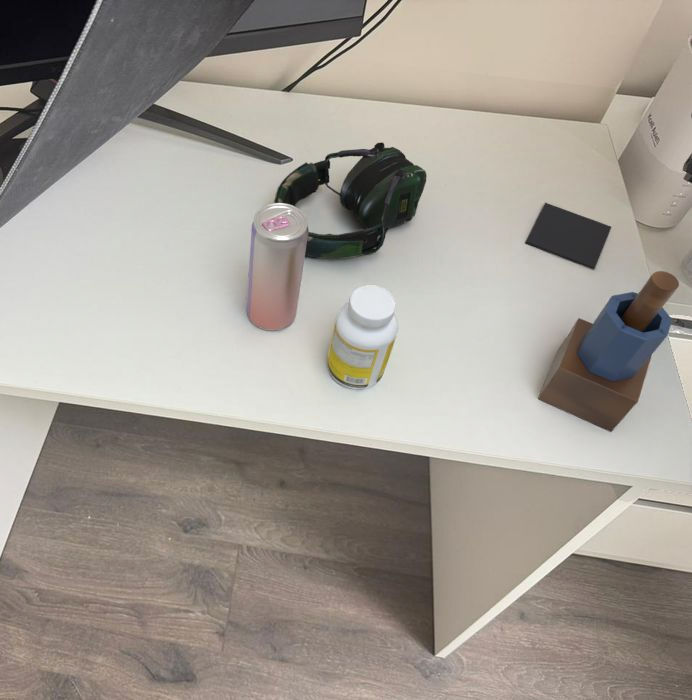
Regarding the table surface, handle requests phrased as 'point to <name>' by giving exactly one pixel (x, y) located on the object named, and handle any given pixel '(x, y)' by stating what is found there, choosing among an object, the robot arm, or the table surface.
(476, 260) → the table surface
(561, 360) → the stand
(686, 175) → the robot arm
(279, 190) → the headphones
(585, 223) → the pad
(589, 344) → the blue hollow octagonal tube
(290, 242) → the beverage can
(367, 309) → the pill bottle
